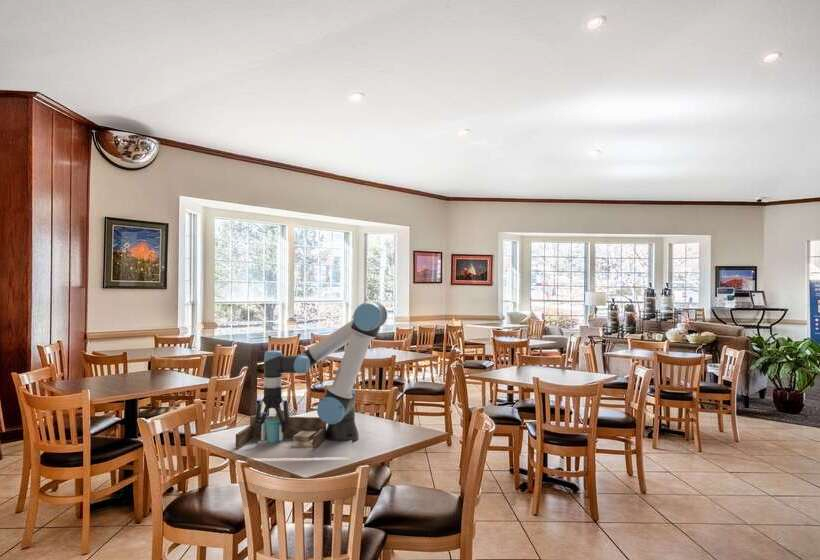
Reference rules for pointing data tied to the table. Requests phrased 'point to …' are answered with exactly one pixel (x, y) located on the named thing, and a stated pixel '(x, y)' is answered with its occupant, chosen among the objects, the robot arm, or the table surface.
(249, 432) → the tray
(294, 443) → the offcut middle
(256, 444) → the table surface
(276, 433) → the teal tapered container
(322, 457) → the table surface
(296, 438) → the offcut top
